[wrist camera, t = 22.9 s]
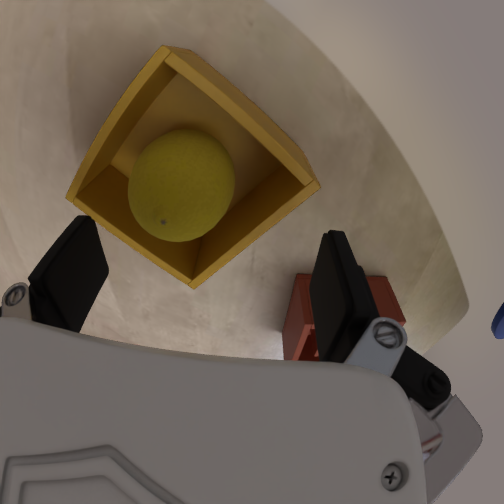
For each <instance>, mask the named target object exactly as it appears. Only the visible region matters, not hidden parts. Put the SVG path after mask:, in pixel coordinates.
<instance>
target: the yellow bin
mask: <svg viewBox="0 0 504 504" xmlns="http://www.w3.org/2000/svg"><path fill="white" fill-rule="evenodd" d="M180 129H193V130H200V131H203V132H205V133H208V134H210V135H212V136H213V137H214V138H216V139H217V140H218V141H220V142H221V143H222V145H223V146H224V147H225V148H226V150H227V151H228V153H229V155H230V157H231V159H232V162H233V164H234V171H235V187H234V194H233V197H232V200H231V202H230V204H229V207H228V209H227V211H226V213H225V214H224V216H223V217H222V218H221V219H220V221H219V222H218V223H217V224H216V225H215V226H214V228H212V229H211V230H209V231H208V232H207V233H205V234H204V235H202V236H200V237H198V238H195V239H193V240H190V241H183V242H171V241H166V240H163V239H159V238H157V237H155V236H153V235H151V234H150V233H148V232H147V231H146V230H145V229H143V228H142V227H141V226H140V224H139V223H138V222H137V221H136V219H135V217H134V215H133V213H132V211H131V209H130V205H129V200H128V183H129V178H130V175H131V172H132V169H133V166H134V164H135V162H136V160H137V159H138V157H139V156H140V154H141V153H142V152H143V150H144V149H145V148H146V147H147V146H148V145H149V144H150V143H151V142H153V141H154V140H155V139H157V138H158V137H159V136H161V135H164V134H166V133H168V132H171V131H174V130H180ZM320 188H321V186H320V184H319V182H318V180H317V178H316V176H315V174H314V172H313V170H312V168H311V166H310V164H309V162H308V160H307V158H306V156H305V154H304V152H303V151H302V150H301V149H300V148H299V147H298V146H297V145H296V144H295V143H294V142H293V141H292V140H291V139H290V138H289V137H288V136H287V135H286V134H285V133H284V132H283V131H282V130H281V129H280V128H279V127H278V126H277V125H276V124H275V123H274V122H273V121H272V120H271V119H270V118H269V117H268V116H267V115H266V114H265V113H264V112H263V111H262V110H261V109H260V108H259V107H257V106H256V105H255V104H254V103H253V102H252V101H251V100H250V99H249V98H248V97H247V96H245V95H244V94H243V93H242V92H241V91H240V90H239V89H238V88H236V87H235V86H234V85H233V84H232V83H231V82H229V81H228V80H227V79H226V78H225V77H224V76H222V75H221V74H220V73H219V72H218V71H216V70H215V69H214V68H213V67H211V66H210V65H209V64H208V63H206V62H205V61H204V60H203V59H201V58H200V57H199V56H197V55H196V54H195V53H194V52H192V51H191V50H188V49H183V48H178V47H172V46H166V45H162V46H161V47H160V48H159V49H158V50H157V51H156V53H155V54H154V55H153V56H152V57H151V59H150V60H149V61H148V62H147V63H146V65H145V66H144V67H143V68H142V70H141V71H140V72H139V74H138V75H137V76H136V77H135V79H134V80H133V81H132V83H131V84H130V86H129V87H128V88H127V90H126V91H125V92H124V94H123V95H122V97H121V98H120V100H119V101H118V103H117V104H116V106H115V107H114V109H113V110H112V112H111V113H110V115H109V116H108V118H107V119H106V121H105V123H104V124H103V126H102V128H101V129H100V131H99V133H98V134H97V136H96V138H95V139H94V141H93V143H92V145H91V146H90V148H89V150H88V152H87V154H86V156H85V158H84V159H83V161H82V163H81V165H80V167H79V169H78V171H77V173H76V175H75V177H74V179H73V182H72V184H71V186H70V188H69V190H68V192H67V195H66V197H65V198H66V199H67V200H69V201H70V202H71V203H72V202H73V204H74V205H75V206H76V207H78V208H79V209H80V210H81V211H83V212H84V213H85V214H87V215H88V216H91V218H92V219H94V220H95V221H96V222H97V223H99V224H100V225H101V226H103V227H104V228H105V229H107V230H108V231H109V232H111V233H112V234H113V235H115V236H116V237H118V238H119V239H120V240H122V241H123V242H124V243H126V244H127V245H129V246H130V247H132V248H133V249H134V250H136V251H137V252H139V253H140V254H142V255H143V256H144V257H146V258H147V259H149V260H150V261H152V262H153V263H155V264H156V265H158V266H159V267H161V268H162V269H164V270H165V271H167V272H168V273H170V274H171V275H173V276H174V277H176V278H177V279H179V280H180V281H182V282H183V283H185V284H187V285H188V286H189V287H191V288H192V289H196V288H197V287H198V286H199V285H200V284H202V283H203V282H204V281H205V280H207V279H208V278H209V277H210V276H212V275H213V274H214V273H215V272H217V271H218V270H219V269H220V268H221V267H223V266H224V265H225V264H226V263H228V262H229V261H230V260H231V259H233V258H234V257H235V256H236V255H238V254H239V253H240V252H241V251H243V250H244V249H245V248H246V247H248V246H249V245H250V244H251V243H253V242H254V241H255V240H256V239H257V238H259V237H260V236H261V235H262V234H264V233H265V232H266V231H267V230H269V229H270V228H271V227H272V226H274V225H275V224H276V223H277V222H279V221H280V220H281V219H282V218H284V217H285V216H286V215H287V214H289V213H290V212H291V211H292V210H294V209H295V208H296V207H297V206H299V205H300V204H301V203H303V202H304V201H305V200H306V199H308V198H309V197H310V196H311V195H313V194H314V193H315V192H316V191H318V190H319V189H320Z"/></svg>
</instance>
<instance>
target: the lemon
mask: <svg viewBox="0 0 504 504" xmlns="http://www.w3.org/2000/svg"><path fill="white" fill-rule="evenodd" d="M234 187H235V171H234V164H233V162H232V159H231V157H230V155H229V153H228V151H227V150H226V148H225V147H224V146H223V145H222V143H221V142H220V141H218V140H217V139H216V138H214V137H213V136H212V135H210V134H208V133H205V132H203V131H200V130H193V129H180V130H174V131H171V132H168V133H166V134H164V135H161V136H159V137H158V138H157V139H155V140H154V141H153V142H151V143H150V144H149V145H148V146H147V147H146V148H145V149H144V150H143V152H142V153H141V154H140V156H139V157H138V159H137V160H136V162H135V164H134V166H133V169H132V172H131V175H130V178H129V183H128V200H129V205H130V209H131V211H132V213H133V215H134V217H135V219H136V221H137V222H138V223H139V224H140V226H141V227H142V228H143V229H145V230H146V231H147V232H148V233H150V234H151V235H153V236H155V237H157V238H159V239H163V240H166V241H171V242H183V241H190V240H193V239H195V238H198V237H200V236H202V235H204V234H205V233H207V232H208V231H209V230H211V229H212V228H214V226H215V225H216V224H217V223H218V222H219V221H220V219H221V218H222V217H223V216H224V214H225V213H226V211H227V209H228V207H229V204H230V202H231V200H232V197H233V194H234Z"/></svg>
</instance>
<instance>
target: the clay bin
mask: <svg viewBox="0 0 504 504" xmlns="http://www.w3.org/2000/svg"><path fill="white" fill-rule="evenodd" d="M311 277H312V275H310V274H297V275H296V280H295V284H294V288H293V292H292V296H291V300H290V304H289V308H288V312H287V316H286V320H285V324H284V328H283V332H282V340H283V353H284V360H292V361H319V356H314V353H313V346H312V339H311V332H310V328H311V329H315V326H314V320H313V313H312V306H311V300H310V294H309V285H310V281H311ZM366 278H367V281H368V284H369V286H370V289H371V292H372V295H373V297H374V300H375V303H376V306H377V309H378V312H379V315H380V317H387V318H391V319H393V320H396V321H397V322H398V323H399V324H401V326H402V327H403V325H404V324H405V322H406V320H405V318H404V315H403V313H402V310H401V308H400V306H399V303H398V301H397V299H396V296H395V294H394V292H393V290H392V287H391V285H390V283H389V281H388V279H387V277H367V276H366ZM319 362H320V361H319Z"/></svg>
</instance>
